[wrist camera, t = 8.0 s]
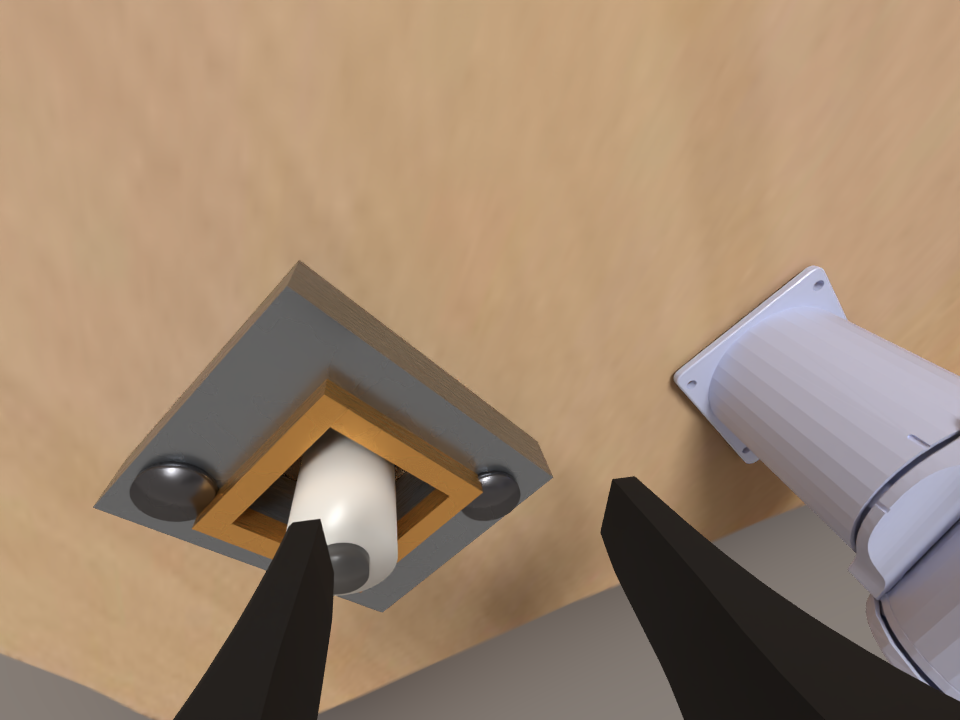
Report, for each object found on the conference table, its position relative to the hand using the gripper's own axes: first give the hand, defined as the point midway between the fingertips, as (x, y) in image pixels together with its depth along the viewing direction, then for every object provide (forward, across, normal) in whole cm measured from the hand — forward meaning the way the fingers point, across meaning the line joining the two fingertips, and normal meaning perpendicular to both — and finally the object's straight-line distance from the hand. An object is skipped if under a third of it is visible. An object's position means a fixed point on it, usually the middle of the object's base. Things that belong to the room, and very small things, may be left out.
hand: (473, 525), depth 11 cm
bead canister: (+9, +4, +5) cm, 11 cm away
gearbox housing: (+9, +4, +5) cm, 11 cm away
